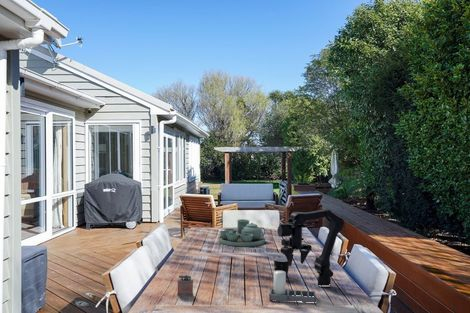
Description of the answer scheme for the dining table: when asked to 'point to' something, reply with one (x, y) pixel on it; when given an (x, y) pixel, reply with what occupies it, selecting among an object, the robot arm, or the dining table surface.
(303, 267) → the dining table surface
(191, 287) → the lighter
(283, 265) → the mug
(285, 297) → the dish rack
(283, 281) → the white smooth rounded part
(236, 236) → the tea set
